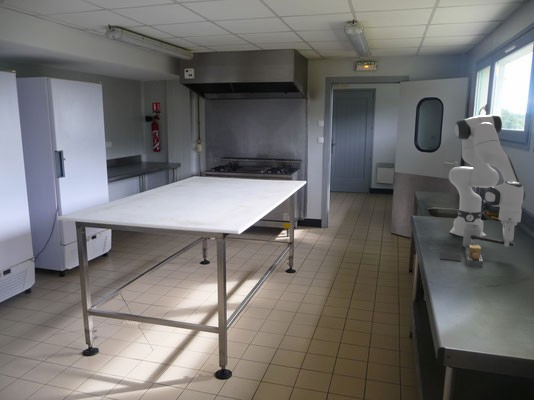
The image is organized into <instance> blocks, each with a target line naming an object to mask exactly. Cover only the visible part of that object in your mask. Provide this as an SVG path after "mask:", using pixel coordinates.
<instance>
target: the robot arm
mask: <svg viewBox="0 0 534 400" xmlns="http://www.w3.org/2000/svg"><path fill="white" fill-rule="evenodd" d="M502 128H503V122H502V118H501V116H499V115H498V114H495V113H493V114H491V113H490V114H487V115H486V114H485V115H484V114H483V115H482V114H481V115H477V116H472V117H468V118H462V119H460V120H457V121H456V123H454V134H455V136H456V138H458V139H460V140H461V157H462V159H463V161H464V162H466V163H467V164H469V165H470V166H455V167H453V168H451V169H450V171H449V173H448V180H449V182H450V183H451V184H452V185H453V186H454V188H456V190H457V192H458V194H459V209H458V211H457V217H456V218H455V219H454V220H453V227H452V228H451V230H449V234H450V233H451V234H453V235H457V236H459V237H464V227H466V225H467V224H474V225H478V226H480V227H479V228H480V229H481V231H480V237H487V234H486V233H485V232H484V231H483V230H484V220H482V219H481V218H482V202H483V199H484V201H485V203H486V204H487V205H488V206H491V207H499V213H498V220H499V221H501V222H500V224H502V235H503V236H502V237H503V241H505V242H504V244H503V245H504V247H506V248H507V247H509V246H510V245H509V242H513V240H514V237H515V236H514V235H515V226H518V223H521V219H522V212H523V211H522V205H523V203H524V201H525V199H526V192H525V189H524V186H523V184H522V183H521V182H520V181H519V178H518V176H517V174H516V173H517V172H516V169H515V168H514V165H513V162H512V160H511V159H510V157H509V155H507V154H506V153H505V151H504V149H503V147H502V146H501V142H500V138H499V133H500V132H501V131H502ZM492 166H493V167H492ZM494 168H496V169H498V171H499V172H500V174H501V176H502V180H503V183H501V184H499V185H498V183H499V181H500V175H499V173H498V171H497V170H496V169H494ZM473 187H474V188H481V189H482V188H483V189H485V191H484V195H483V196H484V198H482V197H481V196H480V195H479V194H478V193H476V192H475V191H474V190H473ZM486 188H487V189H486Z"/></svg>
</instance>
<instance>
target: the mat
mask: <svg viewBox="0 0 534 400" xmlns="http://www.w3.org/2000/svg"><path fill="white" fill-rule="evenodd" d="M439 260H442V261H451V262H457V263H462V258H461V254H459V253H450V252H449V253H448V252H440V253H439Z"/></svg>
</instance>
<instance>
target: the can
mask: <svg viewBox="0 0 534 400" xmlns="http://www.w3.org/2000/svg"><path fill="white" fill-rule="evenodd" d="M479 227H480V226H478V225H474V224H467V225H466V227H464V236H462V237H463V239H462V247H463V248H465V246H469V244H470V245H471V239H472V238H470V237H471V235H475V236H479V237H480V231H481V229H480V228H479ZM474 245H480V240H478V239H475V240H474Z"/></svg>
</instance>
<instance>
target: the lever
mask: <svg viewBox="0 0 534 400" xmlns="http://www.w3.org/2000/svg"><path fill="white" fill-rule="evenodd" d="M470 238H472V239H478V240H479V241H483V242H490V243H494V244H499V245H500V244H501V245H504V242H505V240H501V239H494V238H491V237H490V238H489V237H486V236H483V237H479V236H475V235H471V237H470ZM515 244H516V243H515V242H513V241H510V242H509V246H510V247H514V246H515Z"/></svg>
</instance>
